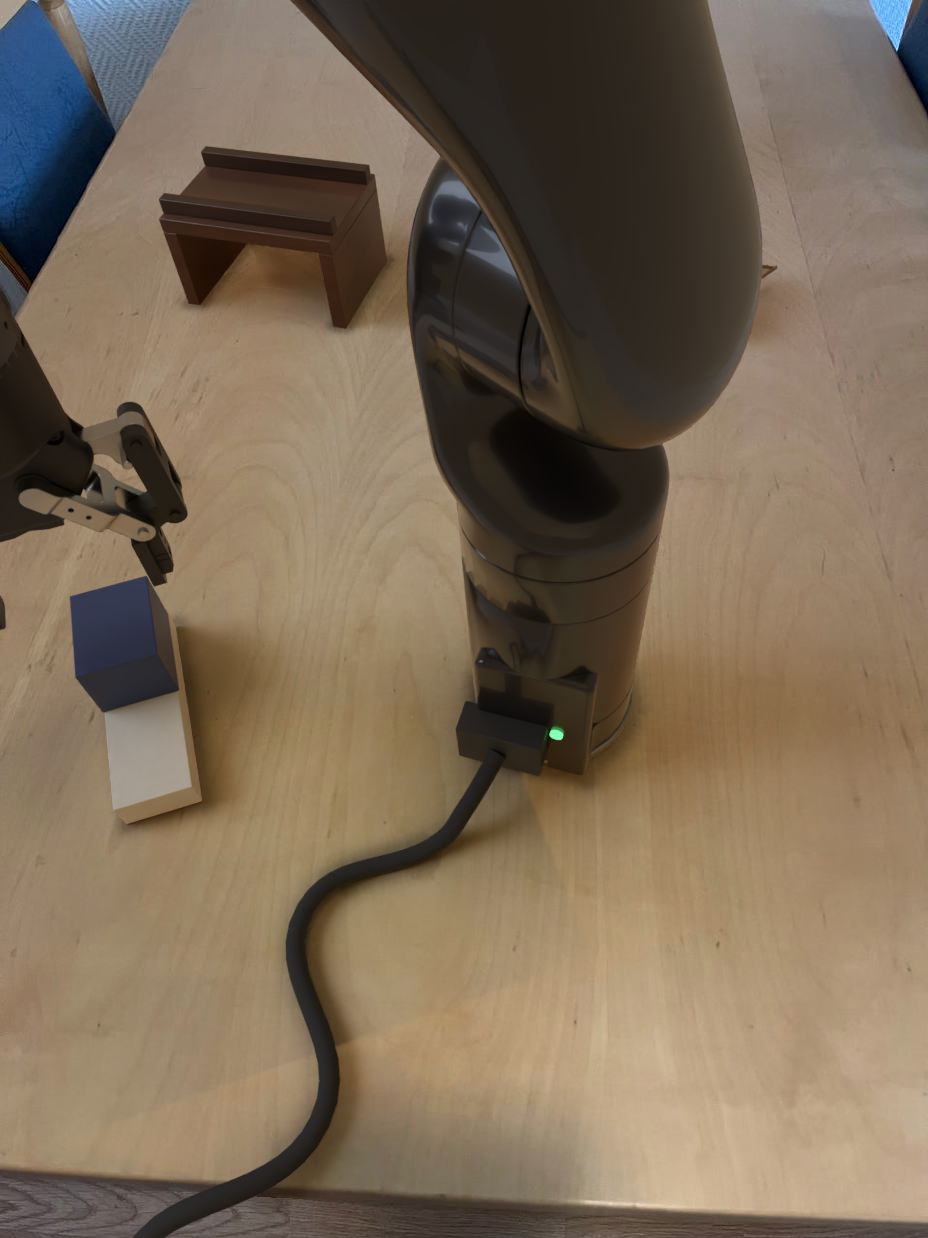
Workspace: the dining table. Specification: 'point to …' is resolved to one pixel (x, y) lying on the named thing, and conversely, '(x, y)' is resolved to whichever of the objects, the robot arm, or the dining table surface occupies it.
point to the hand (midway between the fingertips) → (80, 595)
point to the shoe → (137, 696)
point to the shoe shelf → (277, 221)
